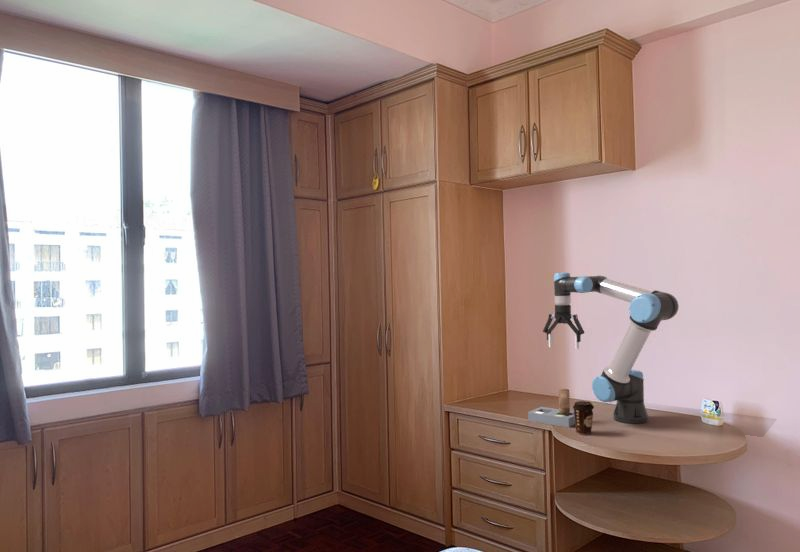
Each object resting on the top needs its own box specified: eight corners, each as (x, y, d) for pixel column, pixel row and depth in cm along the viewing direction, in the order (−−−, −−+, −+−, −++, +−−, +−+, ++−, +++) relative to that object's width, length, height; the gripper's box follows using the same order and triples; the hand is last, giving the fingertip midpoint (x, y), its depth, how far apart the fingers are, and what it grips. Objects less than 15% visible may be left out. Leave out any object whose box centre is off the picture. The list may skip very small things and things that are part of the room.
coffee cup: (596, 431, 248) (596, 401, 248) (592, 436, 241) (591, 405, 241) (576, 429, 252) (575, 399, 252) (571, 434, 245) (570, 403, 245)
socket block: (541, 414, 279) (541, 406, 279) (581, 421, 266) (580, 412, 266) (528, 420, 269) (528, 411, 269) (568, 427, 256) (568, 418, 256)
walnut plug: (571, 422, 264) (570, 389, 264) (567, 424, 261) (566, 391, 261) (562, 420, 267) (561, 388, 267) (557, 422, 264) (557, 390, 264)
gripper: (590, 304, 276) (591, 348, 277) (542, 303, 292) (543, 345, 293) (584, 305, 271) (585, 350, 271) (535, 304, 287) (536, 347, 287)
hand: (563, 347), depth 282 cm, fingers open, 13 cm apart
